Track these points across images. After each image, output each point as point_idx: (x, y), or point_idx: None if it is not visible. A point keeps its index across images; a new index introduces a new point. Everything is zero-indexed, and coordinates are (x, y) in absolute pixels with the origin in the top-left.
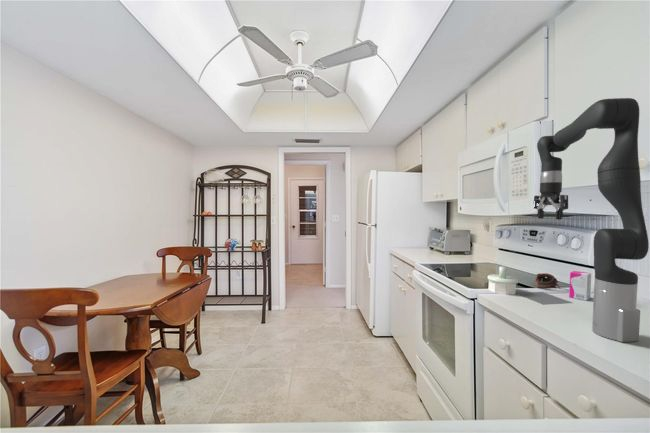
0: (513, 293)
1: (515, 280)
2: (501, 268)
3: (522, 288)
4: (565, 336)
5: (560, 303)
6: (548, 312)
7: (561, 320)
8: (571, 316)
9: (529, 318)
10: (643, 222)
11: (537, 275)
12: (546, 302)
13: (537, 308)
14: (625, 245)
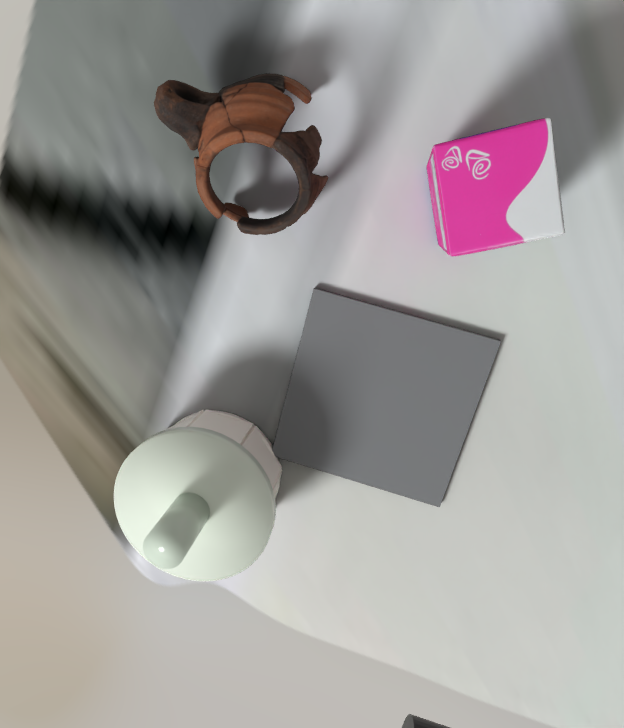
0: (279, 480)
1: (262, 504)
2: (172, 564)
3: (213, 302)
4: None
5: (473, 415)
6: (499, 570)
7: (574, 617)
8: (576, 537)
9: (497, 694)
10: None
11: (198, 181)
12: (431, 462)
13: (448, 560)
14: None
